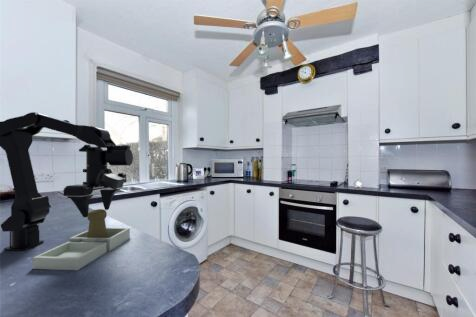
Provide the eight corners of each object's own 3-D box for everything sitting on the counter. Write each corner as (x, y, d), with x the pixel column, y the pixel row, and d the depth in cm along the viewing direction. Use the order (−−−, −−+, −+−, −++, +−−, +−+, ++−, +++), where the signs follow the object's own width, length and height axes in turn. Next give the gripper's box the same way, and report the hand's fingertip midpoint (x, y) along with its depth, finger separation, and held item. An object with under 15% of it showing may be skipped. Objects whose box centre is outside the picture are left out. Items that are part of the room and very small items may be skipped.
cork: (96, 248, 63) (96, 212, 63) (80, 246, 64) (80, 211, 64) (112, 240, 69) (112, 208, 69) (97, 239, 70) (97, 207, 70)
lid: (32, 268, 51) (32, 257, 51) (68, 250, 61) (68, 241, 61) (77, 270, 50) (77, 258, 50) (106, 251, 60) (106, 242, 60)
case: (66, 250, 61) (66, 238, 61) (94, 237, 72) (94, 226, 72) (108, 251, 60) (108, 239, 60) (129, 237, 71) (129, 227, 71)
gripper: (99, 166, 57) (99, 222, 57) (136, 165, 75) (136, 207, 75) (61, 166, 58) (61, 221, 57) (108, 165, 76) (107, 206, 76)
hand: (96, 213), depth 67 cm, fingers open, 9 cm apart
